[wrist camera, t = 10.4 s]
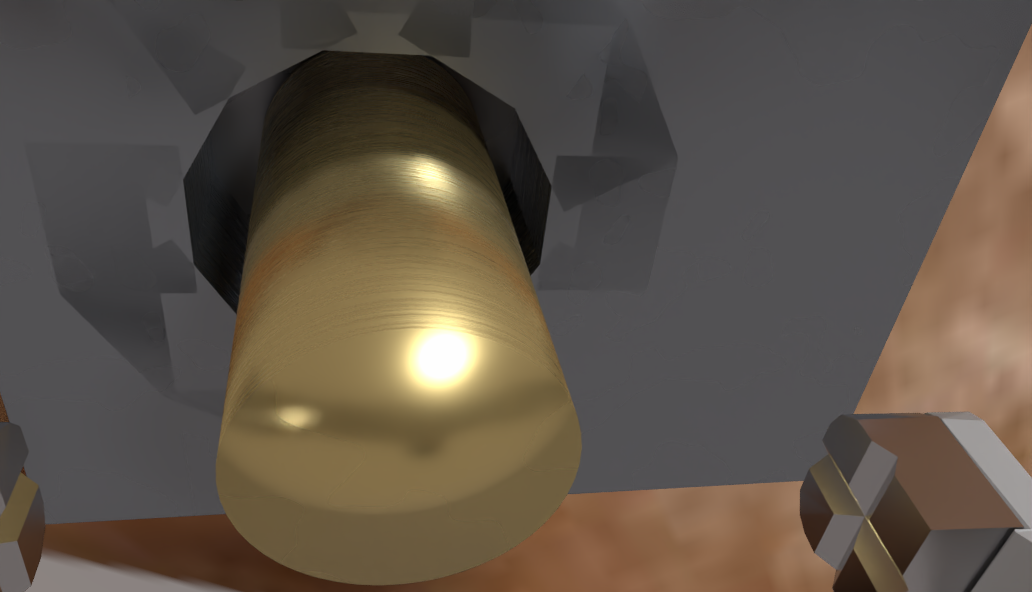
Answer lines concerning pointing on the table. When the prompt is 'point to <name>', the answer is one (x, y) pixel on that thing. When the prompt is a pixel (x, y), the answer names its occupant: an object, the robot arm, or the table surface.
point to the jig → (529, 198)
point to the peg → (387, 338)
